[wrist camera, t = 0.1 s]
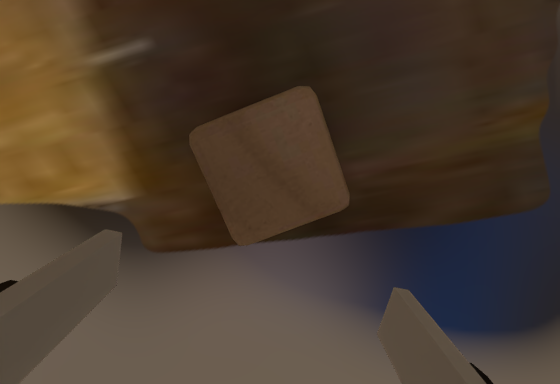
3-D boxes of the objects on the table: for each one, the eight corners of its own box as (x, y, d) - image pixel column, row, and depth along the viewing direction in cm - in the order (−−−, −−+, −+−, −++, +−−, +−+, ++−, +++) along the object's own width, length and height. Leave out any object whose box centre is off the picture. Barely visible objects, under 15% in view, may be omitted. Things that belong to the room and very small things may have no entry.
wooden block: (253, 193, 41) (235, 254, 21) (226, 130, 38) (179, 132, 19) (316, 169, 40) (357, 209, 21) (292, 103, 38) (313, 78, 18)
